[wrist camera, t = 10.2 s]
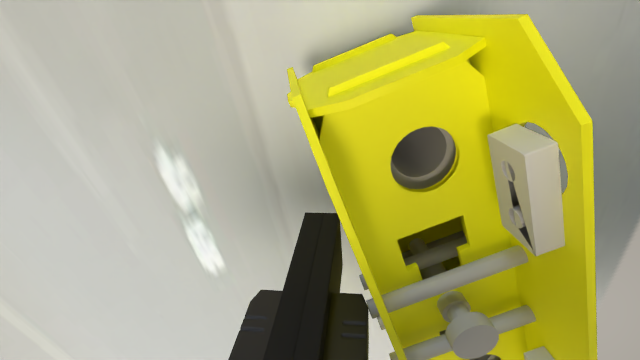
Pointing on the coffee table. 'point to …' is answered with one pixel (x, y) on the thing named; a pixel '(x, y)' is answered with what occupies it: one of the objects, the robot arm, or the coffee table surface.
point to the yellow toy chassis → (461, 187)
